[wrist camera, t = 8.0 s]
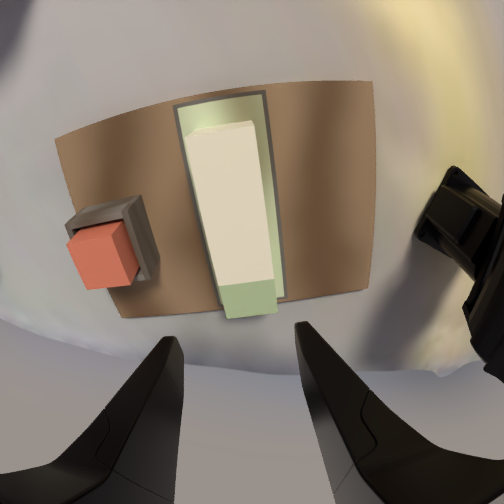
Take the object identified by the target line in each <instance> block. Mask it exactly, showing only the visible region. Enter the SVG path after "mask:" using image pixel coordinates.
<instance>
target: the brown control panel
mask: <svg viewBox="0 0 504 504" xmlns="http://www.w3.org/2000/svg"><path fill="white" fill-rule="evenodd" d="M250 120H252V122H253V124H254V127H255V134H256V141H257V148H258V155H259V162H260V170H261V177H262V185H263V192H264V200H265V208H266V215H267V223H268V231H269V239H270V247H271V256H272V264H273V272H274V281H275V289H276V298H277V303H278V302H285V301H292V300H299V299H306V298H312V297H319V296H325V295H331V294H337V293H343V292H349V291H355V290H360V289H366V288H368V285H369V276H370V267H371V258H372V247H373V234H374V219H375V197H376V131H375V110H374V96H373V84H372V81H306V82H289V83H276V84H266V85H257V86H248V87H241V88H234V89H227V90H221V91H215V92H209V93H204V94H199V95H194V96H189V97H184V98H180V99H175V100H171V101H167V102H163V103H159V104H155V105H151V106H148V107H144V108H140V109H137V110H134V111H130V112H127V113H124V114H120V115H117V116H114V117H111V118H108V119H105V120H102V121H100V122H97V123H94V124H91V125H89V126H86V127H83V128H81V129H78V130H75V131H73V132H70V133H68V134H66V135H63V136H61V137H59V138H56V139H55V143H56V147H57V151H58V155H59V159H60V163H61V166H62V170H63V173H64V177H65V180H66V183H67V187H68V190H69V193H70V196H71V199H72V202H73V205H74V208H75V211H76V215H74V216H73V217H72V218H71V219H70V220H69V221H68V222H67V223H66V224H65V227H66V230H67V232H68V235H69V237H70V240H71V239H72V238H73V236H74V235H75V234H76V233H77V232H78V231H79V230H80V229H81V228H82V227H84V226H89V225H93V224H98V223H102V222H107V221H112V220H116V219H121V218H123V219H124V222H125V225H126V228H127V231H128V234H129V237H130V240H131V243H132V246H133V249H134V251H135V254H136V257H137V260H138V262H139V265H140V267H139V269H138V271H137V273H136V275H135V277H134V279H133V281H132V283H131V285H127V286H117V287H108V288H107V289H108V291H109V293H110V295H111V297H112V299H113V302H114V304H115V306H116V308H117V309H118V311H119V313H120V315H121V317H122V318H131V317H145V316H158V315H170V314H182V313H192V312H202V311H212V310H221V309H224V306H223V302H222V298H221V294H220V290H219V287H218V283H217V279H216V275H215V271H214V267H213V263H212V259H211V255H210V250H209V246H208V242H207V238H206V234H205V229H204V225H203V221H202V217H201V212H200V208H199V203H198V199H197V194H196V190H195V185H194V181H193V176H192V171H191V166H190V162H189V157H188V152H187V147H186V142H185V137H186V136H187V135H189V134H190V133H191V132H193V131H194V130H196V129H201V128H207V127H212V126H218V125H224V124H230V123H236V122H243V121H250Z"/></svg>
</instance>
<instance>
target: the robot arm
mask: <svg viewBox="0 0 504 504" xmlns="http://www.w3.org/2000/svg"><path fill="white" fill-rule="evenodd" d="M454 172H455V174H454ZM501 202H502V205H501V204H499V203H498V202H496V201H495V200H493V199H492V198H490V197H489V196H488V195H487V194H486V193H485V192H484V191H483V190H482V189H481V188H480V187H479V186H478V185H477V184H476V183H475V182H474V181H473V180H472V179H471V178H470V177H468V176H467V175H466V174H465V173H464V172H463V171H462V170H461V169H460V168H458V167H456V166H451V167H450V169H449V171H448V173H447V175H446V176H445V178H444V180H443V182H442V184H441V186H440V188H439V190H438V192H437V194H436V195H435V197H434V199H433V201H432V203H431V204H430V206H429V208H428V210H427V211H426V213H425V215H424V217H423V218H422V220H421V222H420V223H419V225H418V227H417V228H416V230H415V236H416V237H417V238H418V239H419V240H421V241H422V242H424V243H426V244H428V245H430V246H431V247H433V248H435V249H437V250H438V251H440V252H442V253H443V254H445V255H447V256H449V257H450V258H452V259H453V260H454V261H455V262H456V263H457V264H458V265H459V266H460V267H461V268H462V269H463V270H464V271H465V272H466V273H467V274H468V275H469V277H470V278H471V279H472V280H473V281H474V282H475V283H474V285H473V287H472V290H471V292H470V294H469V296H468V298H467V300H466V301H465V302H464V304H463V306H462V309H463V312H464V315H465V318H466V321H467V324H468V327H469V330H470V333H471V336H472V337H471V339H470V342H471V345H472V347H473V348H474V350H475V352H476V353H477V354H478V355H479V357H480V358H481V359H482V360H483V361H484V362H485V363H486V365H485V366H484V371H485V372H487V373H489V374H491V375H493V376H495V377H497V378H498V379H499V380H500V381H502V382H503V383H504V194H503V197H502V201H501ZM421 232H422V233H421ZM420 233H421V234H420ZM294 328H295V344H296V350H297V357H298V363H299V370H300V376H301V382H302V387H303V391H304V395H305V398H306V401H307V405H308V408H309V412H310V415H311V419H312V422H313V425H314V429H315V432H316V436H317V439H318V443H319V446H320V450H321V453H322V457H323V460H324V464H325V467H326V471H327V474H328V477H329V481H330V484H331V488H332V492H333V494H334V499H335V502H336V504H504V460H491V459H486V458H481V457H476V456H471V455H466V454H462V453H458V452H453V451H449V450H446V449H443V448H440V447H438V446H436V445H434V444H433V443H431V442H430V441H428V440H427V439H426V438H424V437H423V436H422V435H421V434H419V433H418V432H417V431H416V430H414V429H413V428H412V427H411V426H409V425H408V424H407V423H406V422H404V421H403V420H402V419H401V418H400V417H398V416H397V415H396V414H395V413H394V412H393V411H391V410H390V409H389V408H388V407H387V406H386V405H385V404H384V403H383V402H382V401H381V400H380V399H379V398H378V397H377V396H376V395H375V394H374V393H373V392H372V391H371V390H369V387H368V386H367V385H366V384H365V383H364V382H363V381H362V380H361V379H360V378H359V377H358V375H357V374H356V373H355V372H354V371H353V370H352V369H351V368H350V367H349V366H348V365H347V364H346V362H345V361H344V360H343V359H342V358H341V357H340V356H339V355H338V354H337V353H336V352H335V351H334V349H333V348H332V347H331V346H330V345H329V344H328V343H327V342H326V341H325V340H324V339H323V338H322V336H321V335H320V334H319V333H318V332H317V331H316V330H315V329H314V328H313V327H312V326H311V325H310V323H309V322H307V321H303V322H297V323H295V325H294ZM183 398H184V355H183V351H182V349H181V347H180V344H179V342H178V340H177V338H176V337H175V336H165V337H163V338H162V339H161V340H160V341H159V342H158V344H157V345H156V346H155V347H154V348H153V350H152V351H151V352H150V353H149V354H148V356H147V357H146V358H145V359H144V360H143V362H142V363H141V364H140V365H139V367H138V368H137V369H136V370H135V371H134V373H133V374H132V375H131V376H130V378H129V379H128V380H127V381H126V382H125V383H124V385H123V386H122V387H121V388H120V390H119V391H118V392H117V393H116V394H115V396H114V397H113V398H112V399H111V401H110V402H109V403H108V404H107V405H106V407H105V409H103V410H102V411H101V413H100V414H99V415H98V416H97V418H96V419H95V420H94V421H93V423H91V425H90V426H89V427H88V428H87V429H86V430H85V431H84V432H83V433H82V434H81V435H80V437H78V438H77V439H76V440H75V441H74V442H73V443H72V444H71V445H70V446H69V447H68V448H67V449H66V450H65V451H64V452H63V453H62V454H61V455H60V456H59V457H58V458H57V459H56V460H54V461H52V462H51V463H49V464H46V465H43V466H39V467H35V468H30V469H26V470H21V471H16V472H11V473H5V474H0V504H174V503H173V502H174V495H175V481H176V468H177V455H178V445H179V436H180V426H181V416H182V407H183Z"/></svg>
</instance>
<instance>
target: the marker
mask: <svg viewBox="0 0 504 504" xmlns="http://www.w3.org/2000/svg"><path fill="white" fill-rule="evenodd" d="M185 142H186V147H187V152H188V157H189V162H190V166H191V171H192V176H193V181H194V185H195V190H196V194H197V199H198V203H199V208H200V212H201V217H202V221H203V225H204V229H205V234H206V238H207V242H208V246H209V250H210V255H211V259H212V263H213V267H214V271H215V275H216V279H217V283H218V287H219V290H220V294H221V298H222V302H223V306H224V310H225V313H226V317H227V319H230V318H238V317H247V316H255V315H262V314H270V313H277V312H278V307H277V298H276V289H275V281H274V272H273V264H272V256H271V247H270V239H269V231H268V223H267V215H266V208H265V200H264V192H263V185H262V177H261V170H260V162H259V155H258V148H257V141H256V134H255V127H254V124H253V122H252V120H250V121H243V122H236V123H230V124H224V125H218V126H212V127H207V128H201V129H196V130H194V131H193V132H191V133H190V134H189V135H187V136H186V137H185Z"/></svg>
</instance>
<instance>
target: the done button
mask: <svg viewBox="0 0 504 504" xmlns="http://www.w3.org/2000/svg"><path fill="white" fill-rule="evenodd" d="M66 245H67V247H68V250H69V252H70V254H71V257H72V259H73V261H74V263H75V266H76V268H77V270H78V272H79V274H80V276H81V278H82V280H83V283H84V285H85V287H86V289H87V290H89V289H99V288H108V287H117V286H127V285H131V283H132V281H133V279H134V277H135V275H136V273H137V271H138V269H139V267H140V265H139V262H138V260H137V257H136V254H135V251H134V249H133V246H132V243H131V240H130V237H129V234H128V231H127V228H126V225H125V222H124V219H123V218H121V219H116V220H112V221H107V222H102V223H98V224H93V225H89V226H84V227H82V228H81V229H80V230H79V231H78V232H77V233H76V234H75V235H74V236H73V238H72V239H71V240H70V241H69V242H68V243H67V244H66Z"/></svg>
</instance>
